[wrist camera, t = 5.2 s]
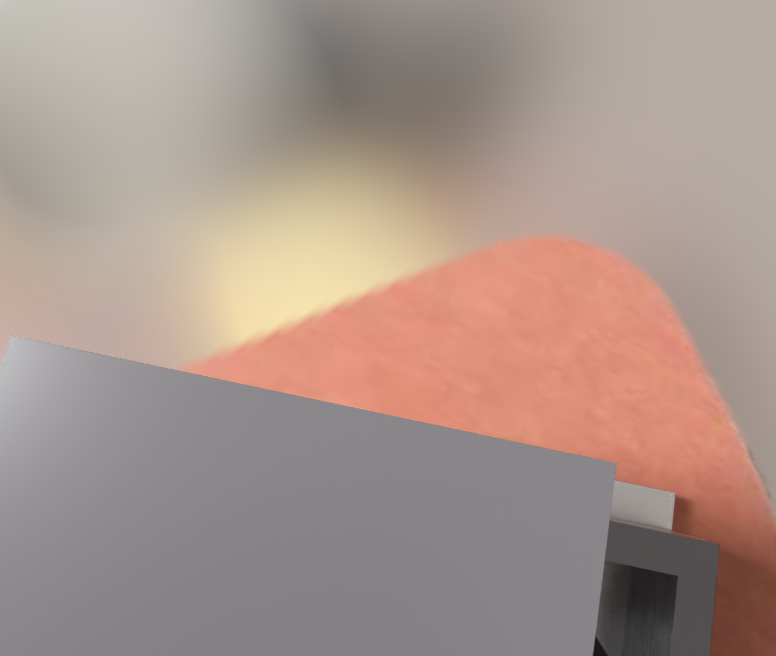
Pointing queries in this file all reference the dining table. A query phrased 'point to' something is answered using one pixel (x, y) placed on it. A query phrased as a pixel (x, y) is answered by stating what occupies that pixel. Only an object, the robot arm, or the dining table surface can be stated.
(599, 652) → the robot arm
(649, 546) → the socket
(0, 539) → the plug
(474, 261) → the dining table surface
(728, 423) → the dining table surface
